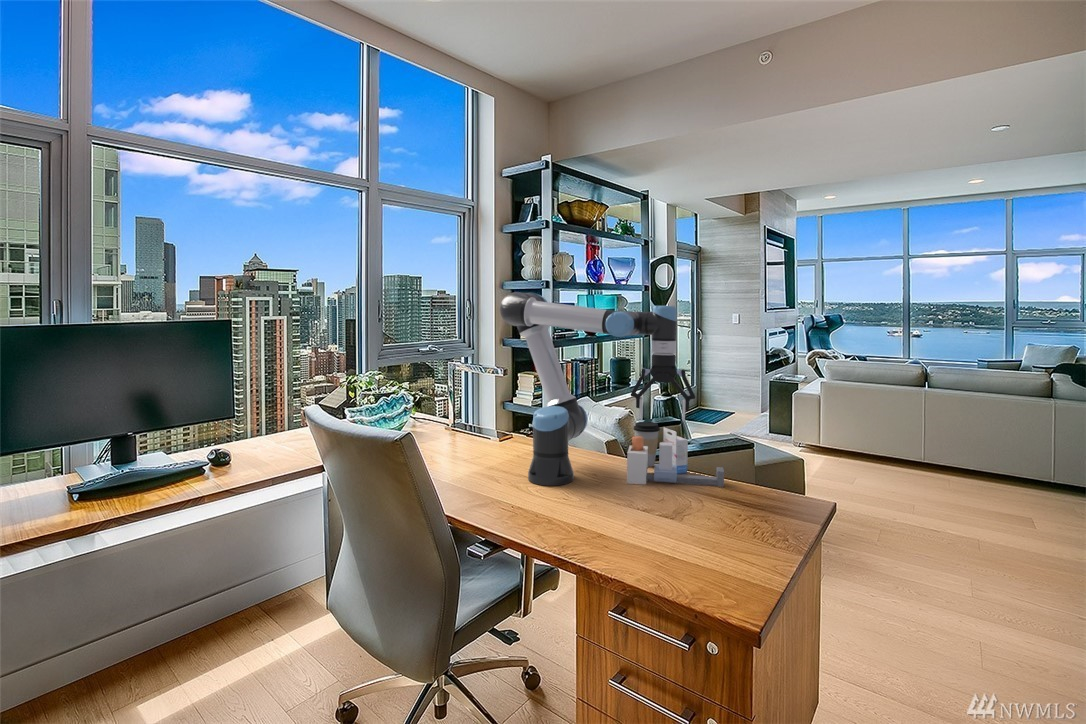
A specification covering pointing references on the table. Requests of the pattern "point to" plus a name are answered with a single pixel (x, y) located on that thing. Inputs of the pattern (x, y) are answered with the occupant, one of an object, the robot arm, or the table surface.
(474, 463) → the table surface
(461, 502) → the table surface
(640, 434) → the coffee cup
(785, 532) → the table surface
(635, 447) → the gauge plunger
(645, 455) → the cabinet
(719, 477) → the rail
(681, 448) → the ink box
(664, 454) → the carriage
